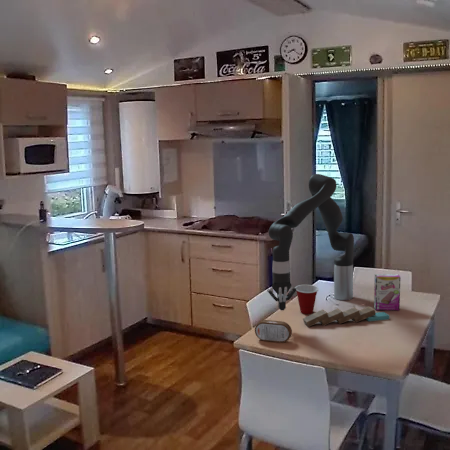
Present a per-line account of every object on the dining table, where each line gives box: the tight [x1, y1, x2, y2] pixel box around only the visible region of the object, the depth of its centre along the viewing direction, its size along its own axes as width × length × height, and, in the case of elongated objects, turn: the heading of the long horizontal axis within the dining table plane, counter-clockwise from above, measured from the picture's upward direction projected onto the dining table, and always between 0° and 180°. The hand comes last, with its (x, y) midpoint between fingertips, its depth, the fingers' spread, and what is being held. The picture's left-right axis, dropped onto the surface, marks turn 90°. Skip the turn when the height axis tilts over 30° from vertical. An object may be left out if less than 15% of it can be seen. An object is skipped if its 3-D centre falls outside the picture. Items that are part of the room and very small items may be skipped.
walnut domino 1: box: [302, 308, 329, 328], centre depth 246 cm, size 2×5×10 cm
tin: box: [254, 319, 293, 343], centre depth 227 cm, size 15×3×8 cm, turn 71°
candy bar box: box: [373, 273, 401, 311], centre depth 262 cm, size 11×5×16 cm, turn 84°
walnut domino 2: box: [319, 308, 344, 326], centre depth 247 cm, size 2×5×10 cm
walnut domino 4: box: [351, 306, 377, 323], centre depth 249 cm, size 2×5×10 cm
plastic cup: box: [295, 284, 319, 315], centre depth 262 cm, size 11×11×12 cm
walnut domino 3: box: [335, 306, 360, 325], centre depth 248 cm, size 2×5×10 cm
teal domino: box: [365, 311, 390, 322], centre depth 251 cm, size 2×5×10 cm
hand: (282, 309), depth 242 cm, fingers closed
